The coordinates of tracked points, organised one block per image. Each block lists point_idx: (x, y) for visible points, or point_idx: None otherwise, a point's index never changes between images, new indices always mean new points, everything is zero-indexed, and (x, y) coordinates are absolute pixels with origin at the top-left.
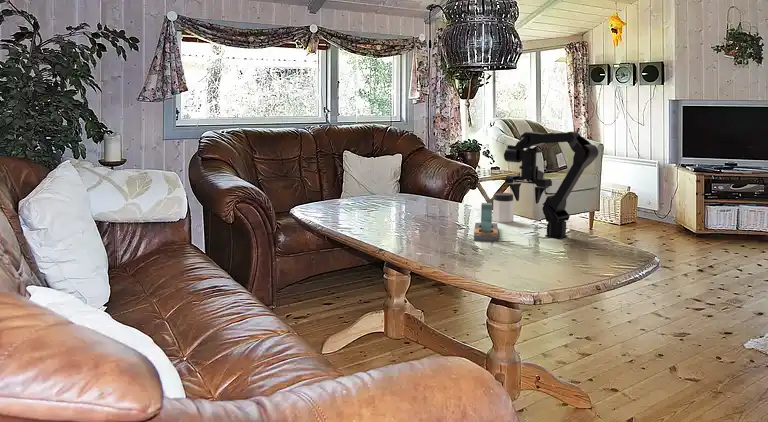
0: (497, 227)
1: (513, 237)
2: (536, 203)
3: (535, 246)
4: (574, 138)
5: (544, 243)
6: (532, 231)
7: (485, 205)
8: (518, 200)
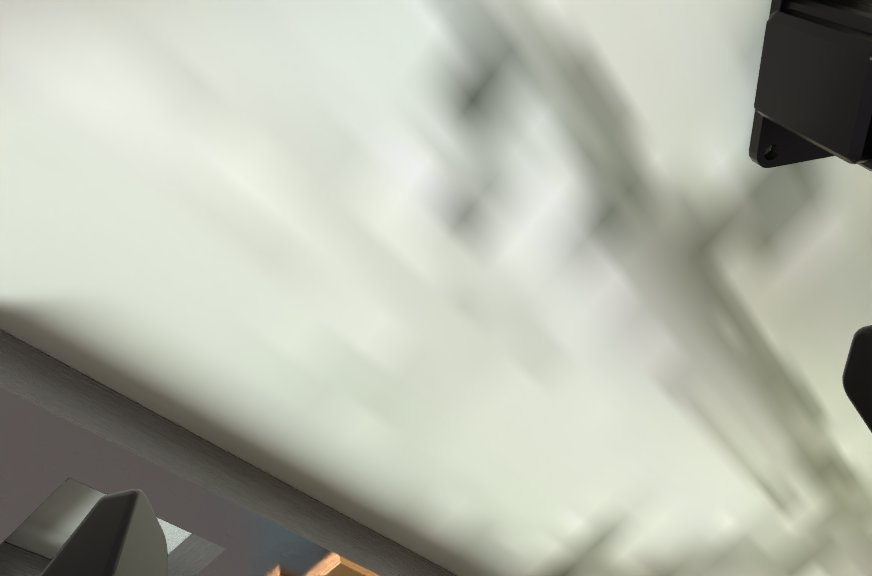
0: (214, 494)
1: (516, 449)
2: (860, 385)
3: (834, 491)
4: None
5: None
6: (438, 27)
7: None
8: (144, 504)
